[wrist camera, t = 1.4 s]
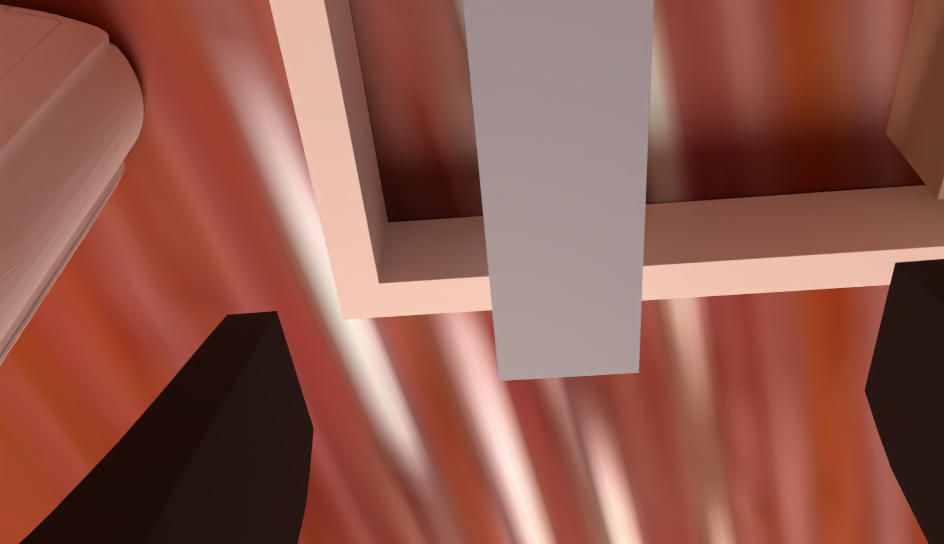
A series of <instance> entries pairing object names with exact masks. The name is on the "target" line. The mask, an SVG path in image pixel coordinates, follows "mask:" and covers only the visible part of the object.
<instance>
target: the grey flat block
mask: <svg viewBox="0 0 944 544" xmlns="http://www.w3.org/2000/svg"><path fill="white" fill-rule="evenodd" d="M653 6H654V0H463V8H464V18H465V29H466V39H467V50H468V60H469V71H470V81H471V92H472V102H473V113H474V123H475V134H476V144H477V155H478V165H479V176H480V186H481V197H482V207H483V218H484V228H485V239H486V249H487V260H488V270H489V281H490V291H491V302H492V312H493V323H494V333H495V344H496V354H497V365H498V375H499V381H505V380H522V379H539V378H556V377H573V376H590V375H607V374H624V373H639V353H640V329H641V304H642V279H643V254H644V229H645V204H646V180H647V155H648V130H649V105H650V80H651V56H652V31H653Z"/></svg>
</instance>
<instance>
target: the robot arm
mask: <svg viewBox="0 0 944 544" xmlns="http://www.w3.org/2000/svg"><path fill="white" fill-rule="evenodd" d="M865 393H866V396H867V399H868V402H869V405H870V408H871V411H872V415H873V418H874V421H875V424H876V427H877V430H878V433H879V436H880V438H881V441H882V444H883V447H884V450H885V452H886V455H887V458H888V461H889V463H890V466H891V469H892V471H893V473H894V475H895V477H896V479H897V481H898V483H899V485H900V487H901V489H902V491H903V493H904V495H905V497H906V499H907V501H908V503H909V505H910V507H911V509H912V511H913V513H914V515H915V517H916V519H917V521H918V524H919V526H920V528H921V530H922V532H923V533H924V535H925V537H926V539H927V541H928V543H929V544H944V259H935V260H922V261H909V262H896V263H895V266H894V270H893V274H892V278H891V282H890V287H889V291H888V295H887V299H886V303H885V308H884V312H883V316H882V320H881V324H880V328H879V333H878V337H877V341H876V345H875V349H874V354H873V358H872V362H871V366H870V370H869V374H868V379H867V383H866V387H865ZM313 429H314V428H313V425H312V422H311V419H310V416H309V412H308V409H307V406H306V403H305V400H304V396H303V393H302V390H301V387H300V384H299V381H298V377H297V374H296V371H295V368H294V365H293V361H292V358H291V355H290V352H289V349H288V346H287V342H286V339H285V336H284V333H283V330H282V327H281V323H280V320H279V317H278V314H277V311H272V312H259V313H246V314H233V315H227V316H226V317H225V318H224V319H223V320H222V322H221V323H220V324H219V325H218V326H217V327H216V328H215V330H214V331H213V332H212V333H211V334H210V335H209V337H208V338H207V339H206V340H205V341H204V342H203V344H202V345H201V346H200V347H199V348H198V350H197V351H196V352H195V353H194V354H193V355H192V357H191V358H190V359H189V360H188V361H187V363H186V364H185V365H184V366H183V367H182V369H181V370H180V371H179V372H178V373H177V375H176V376H175V377H174V378H173V379H172V380H171V382H170V383H169V384H168V385H167V386H166V388H165V389H164V390H163V391H162V392H161V393H160V395H159V396H158V397H157V398H156V399H155V401H154V402H153V403H152V404H151V405H150V406H149V407H148V409H147V410H146V411H145V412H144V413H143V414H142V415H141V417H140V418H139V419H138V420H137V421H136V422H135V423H134V425H133V426H132V427H131V428H130V429H129V430H128V431H127V433H126V434H125V435H124V436H123V437H122V438H121V439H120V441H119V442H118V443H117V444H116V445H115V446H114V447H113V448H112V450H111V451H110V452H109V453H108V454H107V455H106V456H105V457H104V458H103V459H102V460H101V461H100V462H99V463H98V464H97V465H96V466H95V467H94V468H93V470H92V471H91V472H90V473H89V474H88V475H87V476H86V477H85V478H84V479H83V480H82V481H81V482H80V483H79V484H78V485H77V486H76V487H75V488H74V489H73V490H72V492H71V493H70V494H69V495H68V496H67V497H66V498H65V499H64V500H63V501H62V502H61V503H60V504H59V505H58V506H57V507H56V508H55V509H54V510H53V511H52V513H51V514H49V515H48V516H47V517H46V518H45V519H44V520H43V521H42V522H41V523H40V524H39V525H38V526H37V527H36V528H35V529H34V530H33V531H32V532H31V533H30V534H29V535H28V536H27V537H26V538H25V539H24V540H23V541H21V542H20V543H19V544H297V543H298V539H299V535H300V530H301V526H302V521H303V516H304V512H305V507H306V500H307V491H308V483H309V474H310V463H311V452H312V441H313Z"/></svg>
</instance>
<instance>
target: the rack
mask: <svg viewBox="0 0 944 544" xmlns="http://www.w3.org/2000/svg"><path fill="white" fill-rule="evenodd" d="M269 1H270V5H271V10H272V14H273V18H274V23H275V27H276V31H277V36H278V40H279V44H280V48H281V53H282V57H283V61H284V66H285V70H286V74H287V78H288V83H289V87H290V91H291V96H292V100H293V104H294V109H295V113H296V117H297V121H298V126H299V130H300V134H301V139H302V143H303V147H304V151H305V156H306V160H307V164H308V169H309V173H310V177H311V182H312V186H313V190H314V194H315V199H316V203H317V207H318V212H319V216H320V220H321V225H322V229H323V233H324V237H325V242H326V246H327V250H328V255H329V259H330V263H331V267H332V272H333V276H334V280H335V285H336V289H337V293H338V298H339V302H340V306H341V310H342V315H343V319H357V318H373V317H389V316H404V315H420V314H436V313H452V312H467V311H483V310H492V302H491V291H490V281H489V270H488V260H487V249H486V239H485V228H484V218H483V216H474V217H460V218H446V219H431V220H417V221H403V222H388V220H387V214H386V209H385V203H384V197H383V192H382V186H381V180H380V175H379V169H378V163H377V158H376V152H375V146H374V141H373V135H372V129H371V124H370V118H369V112H368V107H367V101H366V95H365V90H364V84H363V78H362V73H361V67H360V61H359V56H358V50H357V44H356V39H355V33H354V27H353V22H352V16H351V10H350V5H349V0H269ZM935 259H944V199H937V198H936V197H935V196H934V194H933V193H932V192H931V191H930V189H929V188H928V187H927V186H926V185H917V186H903V187H889V188H875V189H860V190H846V191H832V192H817V193H803V194H789V195H774V196H760V197H746V198H732V199H717V200H703V201H689V202H674V203H660V204H646V205H645V229H644V254H643V279H642V300H656V299H672V298H687V297H703V296H719V295H735V294H750V293H766V292H782V291H797V290H813V289H829V288H845V287H860V286H876V285H890V282H891V278H892V274H893V270H894V266H895V263H896V262H909V261H922V260H935Z"/></svg>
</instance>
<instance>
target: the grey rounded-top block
mask: <svg viewBox="0 0 944 544" xmlns="http://www.w3.org/2000/svg"><path fill="white" fill-rule="evenodd" d="M143 117H144V103H143V97H142V92H141V89H140V85H139V82H138V79H137V77H136V75H135V73H134V71H133V69H132V67H131V66H130V64H129V62H128V61H127V59H126V58H125V56H124V55H123V54H122V52H121V51H120V50H119V49H118V48H117V47H116V46H115V45H113V44H111V43H109V35H108V34H107V32H105V31H104V30H102V29H100V28H99V27H96V26H93V25H90V24H87V23H84V22H80V21H77V20H73V19H70V18H66V17H63V16H59V15H55V14H51V13H47V12H42V11H37V10H31V9H25V8H19V7H13V6H7V5H1V4H0V365H1V364H2V362H3V360H4V359H5V357H6V356H7V354H8V353H9V351H10V350H11V348H12V347H13V345H14V344H15V342H16V341H17V339H18V338H19V336H20V335H21V333H22V331H23V330H24V328H25V327H26V325H27V324H28V323H29V321H30V319H31V318H32V316H33V315H34V313H35V312H36V310H37V309H38V307H39V306H40V304H41V303H42V301H43V300H44V298H45V297H46V295H47V294H48V292H49V290H50V289H51V287H52V286H53V284H54V283H55V281H56V279H57V278H58V276H59V275H60V274H61V272H62V271H63V269H64V268H65V266H66V264H67V263H68V261H69V260H70V258H71V257H72V255H73V253H74V252H75V250H76V249H77V247H78V246H79V244H80V243H81V242H82V240H83V238H84V237H85V235H86V234H87V232H88V231H89V229H90V227H91V226H92V224H93V223H94V221H95V220H96V218H97V216H98V215H99V213H100V212H101V210H102V209H103V207H104V205H105V204H106V202H107V200H108V199H109V197H110V196H111V194H112V193H113V191H114V190H115V188H116V187H117V185H118V183H119V181H120V178H121V176H122V174H123V172H124V168H125V165H124V161H123V159H124V158H125V156H126V155H127V153H128V152H129V150H130V149H131V148H132V146H133V145H134V143H135V142H136V140H137V138H138V135H139V133H140V130H141V127H142V122H143Z"/></svg>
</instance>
